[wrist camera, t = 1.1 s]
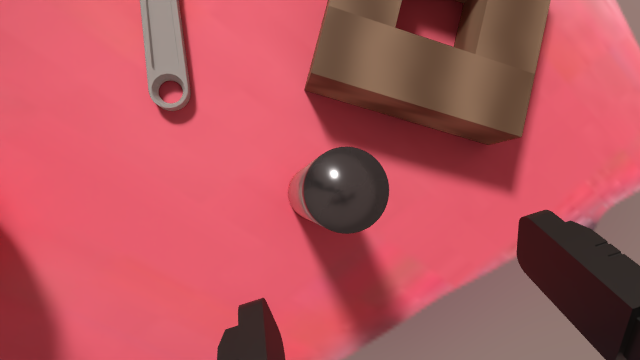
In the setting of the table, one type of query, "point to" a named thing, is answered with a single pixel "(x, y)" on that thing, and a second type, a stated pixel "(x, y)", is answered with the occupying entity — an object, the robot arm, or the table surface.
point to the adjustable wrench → (164, 49)
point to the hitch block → (434, 65)
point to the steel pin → (341, 190)
